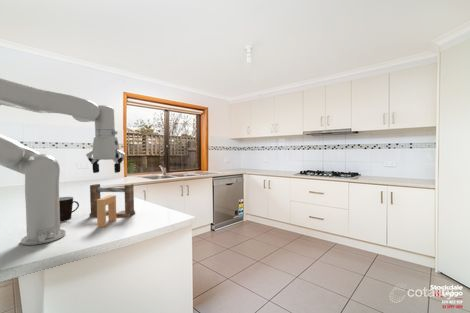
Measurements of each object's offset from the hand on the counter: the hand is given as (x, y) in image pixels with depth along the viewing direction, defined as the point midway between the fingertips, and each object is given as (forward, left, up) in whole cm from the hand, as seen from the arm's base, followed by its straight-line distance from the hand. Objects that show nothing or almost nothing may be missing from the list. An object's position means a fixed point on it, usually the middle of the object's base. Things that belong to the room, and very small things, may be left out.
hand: (106, 172), depth 99 cm
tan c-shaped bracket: (0, 0, -23) cm, 23 cm away
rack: (+12, -5, -23) cm, 26 cm away
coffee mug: (+21, +13, -23) cm, 34 cm away
